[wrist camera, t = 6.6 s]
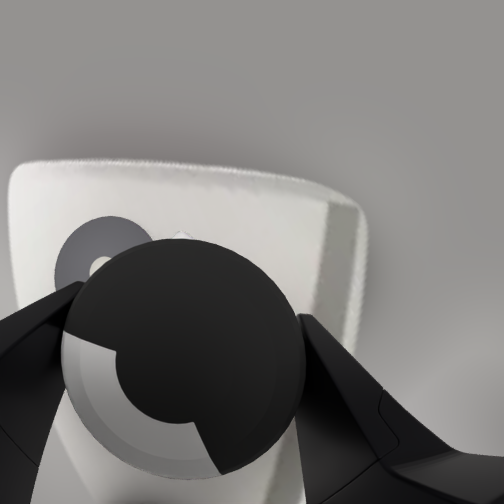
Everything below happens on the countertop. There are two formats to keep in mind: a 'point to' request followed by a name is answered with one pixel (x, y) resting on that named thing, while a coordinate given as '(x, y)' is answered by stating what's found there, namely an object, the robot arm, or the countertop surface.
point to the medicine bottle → (183, 358)
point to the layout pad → (95, 247)
